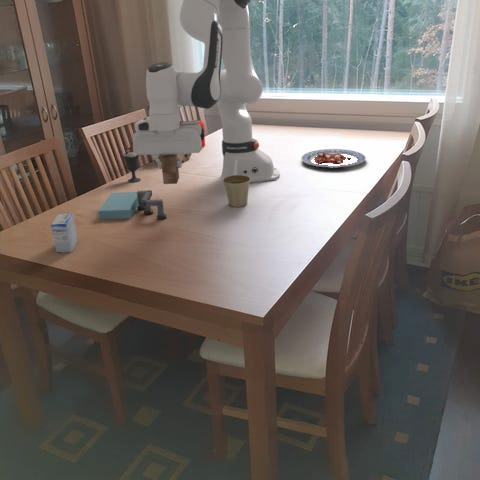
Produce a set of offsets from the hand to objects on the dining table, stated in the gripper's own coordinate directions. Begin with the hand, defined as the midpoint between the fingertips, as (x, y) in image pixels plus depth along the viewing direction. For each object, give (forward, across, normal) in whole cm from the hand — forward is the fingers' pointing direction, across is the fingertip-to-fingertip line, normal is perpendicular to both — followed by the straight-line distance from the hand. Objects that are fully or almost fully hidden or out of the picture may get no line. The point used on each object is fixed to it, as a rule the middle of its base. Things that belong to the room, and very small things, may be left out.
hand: (170, 167), depth 155 cm
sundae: (+16, +21, -40) cm, 49 cm away
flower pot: (+16, -20, -10) cm, 28 cm away
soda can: (+16, +1, -88) cm, 90 cm away
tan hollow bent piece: (+16, +10, -65) cm, 68 cm away
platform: (+16, +19, -10) cm, 27 cm away
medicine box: (+17, +29, +18) cm, 38 cm away
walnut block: (+4, 0, 0) cm, 4 cm away
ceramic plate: (+16, -58, -54) cm, 81 cm away
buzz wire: (+16, +8, -5) cm, 19 cm away
